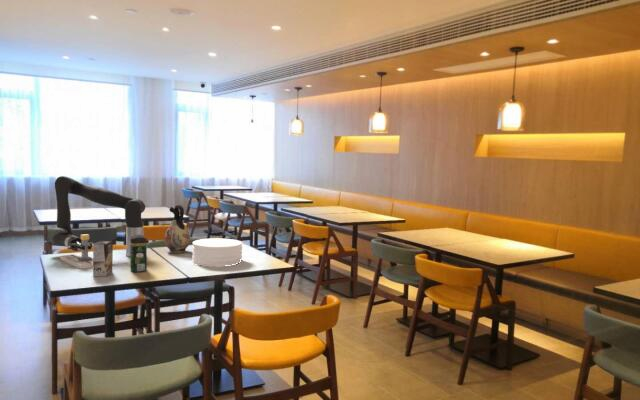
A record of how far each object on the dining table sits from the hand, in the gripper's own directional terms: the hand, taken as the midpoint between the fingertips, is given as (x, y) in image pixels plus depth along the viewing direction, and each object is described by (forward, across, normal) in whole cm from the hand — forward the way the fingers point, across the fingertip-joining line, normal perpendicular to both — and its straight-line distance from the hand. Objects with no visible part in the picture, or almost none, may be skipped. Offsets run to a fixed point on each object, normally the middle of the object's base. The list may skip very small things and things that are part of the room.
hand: (87, 247), depth 250 cm
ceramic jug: (-4, +56, +10) cm, 57 cm away
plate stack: (+32, +60, +10) cm, 69 cm away
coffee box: (+23, -2, +10) cm, 25 cm away
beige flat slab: (-8, 0, +10) cm, 13 cm away
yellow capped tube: (-3, 0, +7) cm, 8 cm away
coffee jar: (+26, +16, +10) cm, 31 cm away
